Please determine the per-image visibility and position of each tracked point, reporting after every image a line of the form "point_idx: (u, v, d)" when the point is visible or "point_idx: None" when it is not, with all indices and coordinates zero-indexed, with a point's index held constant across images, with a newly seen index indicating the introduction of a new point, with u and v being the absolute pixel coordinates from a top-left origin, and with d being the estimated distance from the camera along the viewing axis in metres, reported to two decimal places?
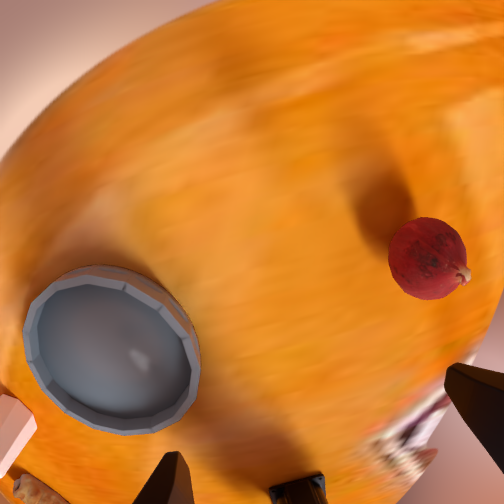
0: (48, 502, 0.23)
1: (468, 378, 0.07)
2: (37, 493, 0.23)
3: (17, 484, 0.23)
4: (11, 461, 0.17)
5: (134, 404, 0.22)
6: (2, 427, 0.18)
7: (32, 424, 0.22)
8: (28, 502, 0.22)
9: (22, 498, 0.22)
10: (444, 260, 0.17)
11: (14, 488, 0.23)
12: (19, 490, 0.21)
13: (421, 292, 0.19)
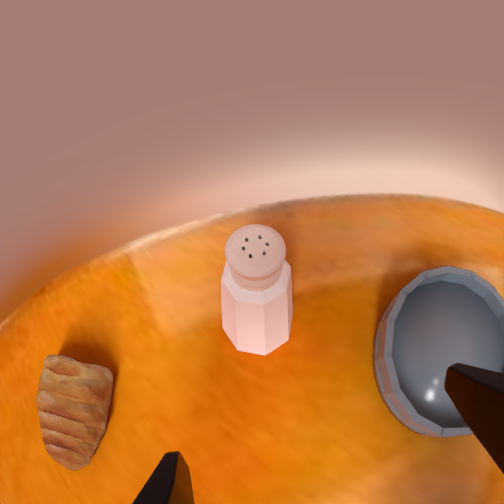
0: (90, 419, 0.18)
1: (468, 378, 0.07)
2: (99, 396, 0.19)
3: None
4: (268, 320, 0.18)
5: (432, 405, 0.19)
6: None
7: (277, 344, 0.22)
8: (59, 384, 0.18)
9: (62, 372, 0.19)
10: None
11: None
12: (82, 364, 0.19)
13: None
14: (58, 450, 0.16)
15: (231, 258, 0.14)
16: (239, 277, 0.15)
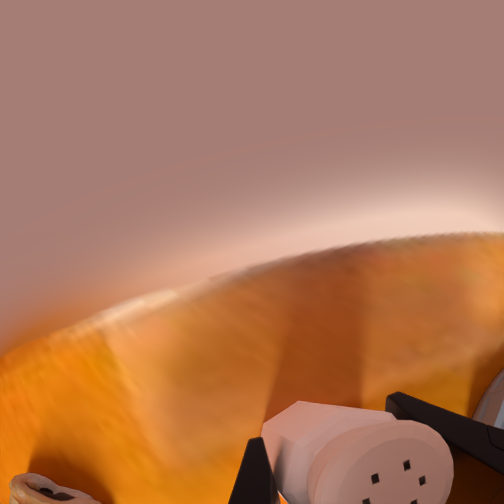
0: None
1: (405, 412, 0.07)
2: None
3: (37, 483, 0.11)
4: None
5: None
6: None
7: None
8: None
9: None
10: None
11: (24, 479, 0.10)
12: None
13: None
14: None
15: None
16: None
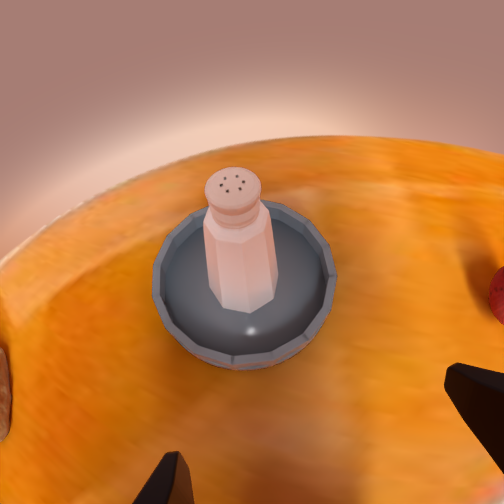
0: None
1: (468, 378, 0.07)
2: None
3: None
4: (248, 265, 0.18)
5: (227, 336, 0.22)
6: (274, 249, 0.21)
7: (262, 302, 0.23)
8: None
9: None
10: None
11: None
12: None
13: None
14: None
15: (210, 193, 0.15)
16: (217, 213, 0.16)
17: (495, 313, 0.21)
